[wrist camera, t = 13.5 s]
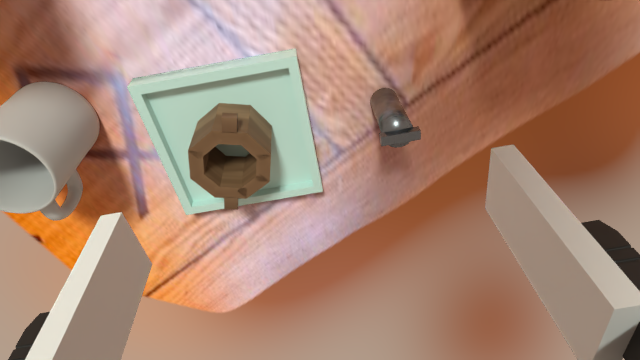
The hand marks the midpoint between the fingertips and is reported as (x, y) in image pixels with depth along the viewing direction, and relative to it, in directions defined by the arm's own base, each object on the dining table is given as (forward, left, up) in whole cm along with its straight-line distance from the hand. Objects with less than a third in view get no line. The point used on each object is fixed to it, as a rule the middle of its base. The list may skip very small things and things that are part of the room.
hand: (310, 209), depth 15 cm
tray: (+13, -9, -31) cm, 35 cm away
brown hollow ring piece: (+13, -9, -30) cm, 34 cm away
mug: (+9, -27, -31) cm, 42 cm away
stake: (+12, +8, -31) cm, 34 cm away
